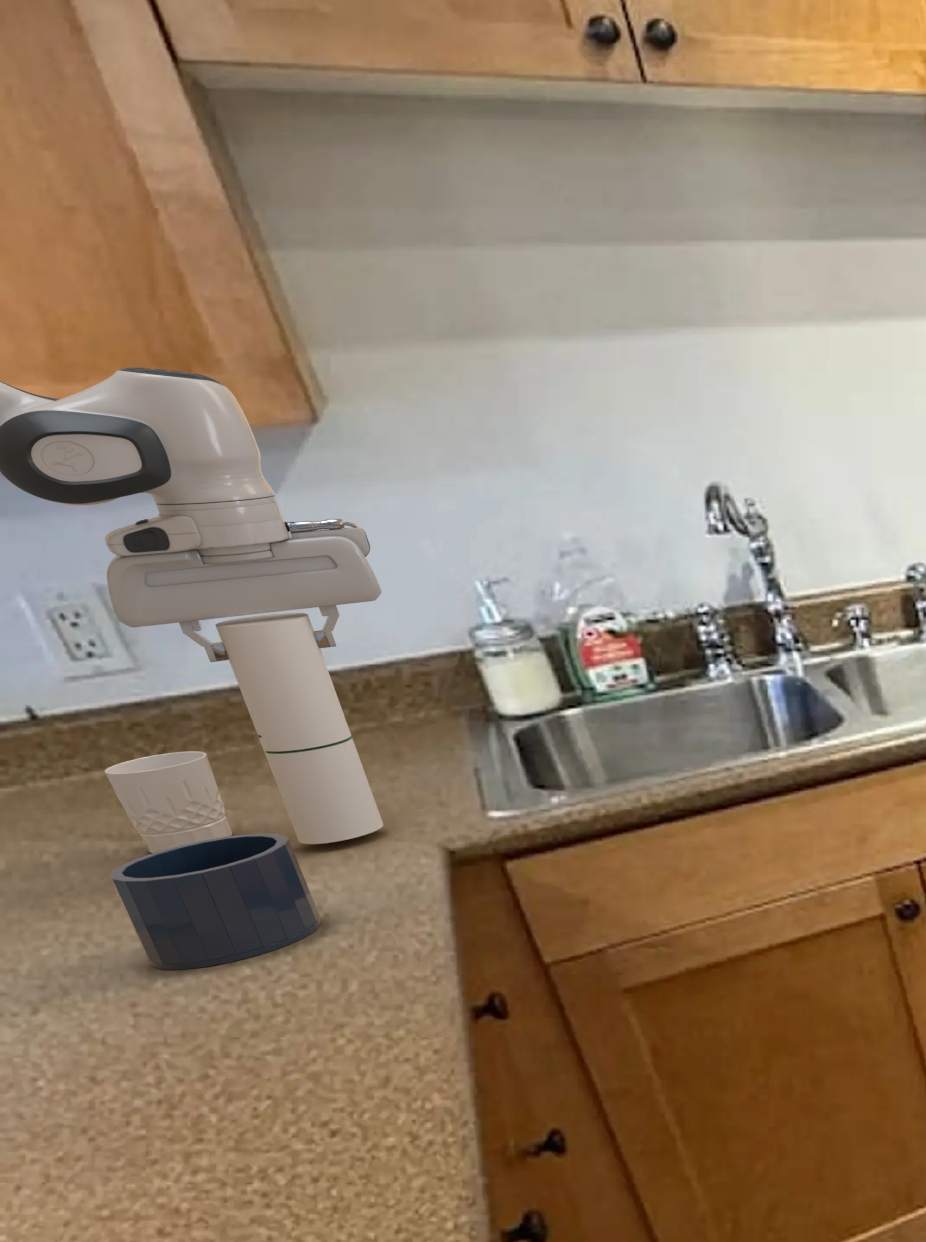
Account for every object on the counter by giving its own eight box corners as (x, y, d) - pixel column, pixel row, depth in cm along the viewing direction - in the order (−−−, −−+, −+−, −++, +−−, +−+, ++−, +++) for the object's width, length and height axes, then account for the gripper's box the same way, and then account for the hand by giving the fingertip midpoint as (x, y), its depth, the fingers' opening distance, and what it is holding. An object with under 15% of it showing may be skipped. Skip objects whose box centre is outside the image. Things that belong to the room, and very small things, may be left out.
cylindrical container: (374, 817, 156) (299, 610, 148) (391, 829, 152) (315, 617, 144) (291, 835, 150) (209, 621, 142) (306, 848, 146) (222, 629, 138)
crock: (112, 971, 121) (70, 882, 118) (237, 917, 132) (202, 834, 129) (239, 968, 121) (200, 879, 118) (354, 914, 132) (321, 831, 129)
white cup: (165, 860, 147) (129, 776, 143) (125, 852, 149) (87, 769, 146) (255, 835, 154) (222, 754, 150) (215, 827, 156) (181, 748, 153)
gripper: (358, 514, 149) (398, 633, 153) (87, 535, 135) (140, 665, 139) (362, 519, 144) (403, 641, 149) (82, 541, 131) (138, 675, 135)
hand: (274, 653), depth 144 cm, fingers closed on cylindrical container, 7 cm apart
